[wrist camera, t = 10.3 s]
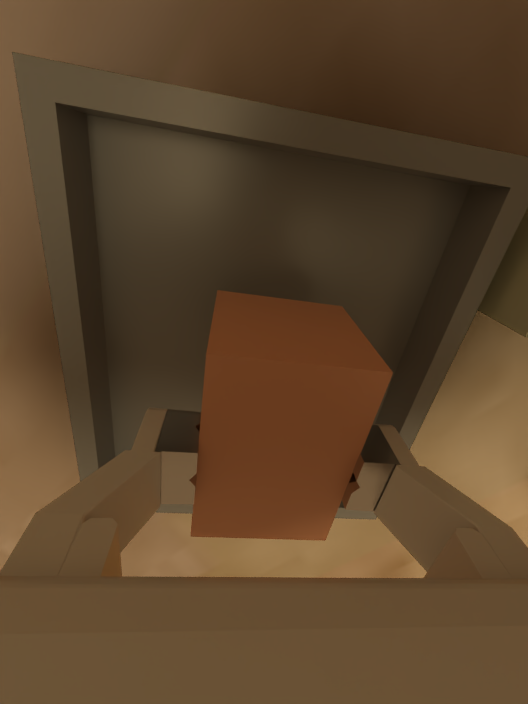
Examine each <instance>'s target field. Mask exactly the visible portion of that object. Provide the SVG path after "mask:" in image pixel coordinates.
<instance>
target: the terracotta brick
mask: <svg viewBox="0 0 528 704" xmlns="http://www.w3.org/2000/svg"><path fill="white" fill-rule="evenodd" d="M392 374H393V372H392V371H391V369H390V368H389V367H388V365H387V364H386V363H385V361H384V360H383V359H382V358H381V356H380V355H379V354H378V352H377V351H376V350H375V348H374V347H373V346H372V345H371V343H370V342H369V341H368V339H367V338H366V337H365V335H364V334H363V333H362V331H361V330H360V329H359V328H358V326H357V325H356V324H355V322H354V321H353V320H352V318H351V317H350V316H349V315H348V313H347V312H346V311H345V309H344V308H343V307H342V306H337V305H329V304H321V303H313V302H306V301H298V300H290V299H283V298H275V297H267V296H260V295H252V294H244V293H236V292H229V291H221V290H217V295H216V301H215V307H214V312H213V318H212V324H211V329H210V335H209V341H208V346H207V352H206V362H205V374H204V386H203V397H202V409H201V421H200V432H199V455H198V466H197V473H196V475H197V481H196V492H195V500H194V505H193V514H192V525H191V536H192V537H226V538H260V539H295V540H326V538H327V535H328V533H329V530H330V528H331V525H332V523H333V521H334V518H335V516H336V513H337V511H338V508H339V506H340V503H341V501H342V498H343V495H344V492H345V490H346V487H347V485H348V483H349V481H350V478H351V476H352V473H353V469H354V467H355V464H356V462H357V459H358V457H359V454H360V453H361V451H362V449H363V446H364V444H365V441H366V439H367V436H368V434H369V431H370V429H371V426H372V424H373V421H374V419H375V417H376V414H377V412H378V409H379V407H380V404H381V402H382V399H383V397H384V394H385V392H386V389H387V387H388V384H389V382H390V379H391V377H392Z"/></svg>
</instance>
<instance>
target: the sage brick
mask: <svg viewBox="0 0 528 704" xmlns="http://www.w3.org/2000/svg"><path fill="white" fill-rule="evenodd" d="M478 310H479V311H481V312H482V313H484V314H486V315H488V316H489V317H491V318H493V319H495V320H496V321H498V322H500V323H502V324H503V325H505V326H507V327H509V328H510V329H512V330H514V331H516V332H517V333H519V334H521V335H523V336H524V337H528V207H527V209H526V211H525V213H524V216H523V218H522V220H521V222H520V224H519V226H518V228H517V230H516V232H515V234H514V236H513V238H512V240H511V242H510V244H509V246H508V248H507V250H506V253H505V255H504V257H503V259H502V261H501V263H500V265H499V267H498V269H497V271H496V273H495V275H494V277H493V279H492V281H491V283H490V285H489V287H488V290H487V292H486V294H485V296H484V298H483V300H482V302H481V304H480V306H479V308H478Z"/></svg>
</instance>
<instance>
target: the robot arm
mask: <svg viewBox="0 0 528 704" xmlns="http://www.w3.org/2000/svg"><path fill="white" fill-rule="evenodd" d="M200 421H201V412H195V411H184V410H173V409H168V410H167V409H160V408H148V410H147V411H146V413H145V416H144V418H143V421H142V423H141V426H140V429H139V431H138V434H137V436H136V439H135V442H134V444H133V447H132V449H131V450H125V451H123V452H122V453H120V454H119V455H118V456H116V457H115V458H113V459H112V460H110V461H109V462H108V463H106V464H105V465H103V466H102V467H101V468H99V469H98V470H96V471H95V472H93V473H92V474H91V475H89V476H88V477H86V478H85V479H84V480H82V481H81V482H79V483H78V484H77V485H75V486H74V487H72V488H71V489H69V490H68V491H67V492H65V493H64V494H62V495H61V496H60V497H58V498H57V499H55V500H54V501H52V502H51V503H50V504H48V505H47V506H45V507H44V508H43V509H41V510H40V511H38V512H37V513H35V515H34V517H33V518H32V520H31V522H30V523H29V525H28V527H27V528H26V530H25V532H24V533H23V535H22V537H21V538H20V540H19V542H18V543H17V545H16V547H15V548H14V550H13V552H12V553H11V555H10V557H9V558H8V560H7V562H6V563H5V565H4V567H3V568H2V570H1V572H0V704H528V548H527V547H526V545H525V544H524V543H523V541H522V540H521V539H520V538H519V536H518V535H517V534H516V532H515V531H514V530H513V529H512V528H511V527H510V526H508V525H507V524H506V523H504V522H503V521H501V520H500V519H498V518H497V517H496V516H494V515H493V514H491V513H490V512H488V511H487V510H486V509H484V508H483V507H481V506H480V505H479V504H477V503H476V502H474V501H473V500H471V499H470V498H469V497H467V496H466V495H464V494H463V493H461V492H460V491H459V490H457V489H456V488H454V487H453V486H451V485H450V484H449V483H447V482H446V481H444V480H443V479H442V478H440V477H439V476H437V475H436V474H434V473H433V472H432V471H430V470H429V469H427V468H426V467H422V466H419V465H418V463H417V461H416V460H415V458H414V457H413V455H412V453H411V452H410V450H409V449H408V447H407V446H406V444H405V442H404V441H403V439H402V438H401V436H400V434H399V433H398V431H397V430H396V428H395V427H394V426H392V425H380V424H375V425H372V426H371V429H370V431H369V434H368V436H367V439H366V441H365V444H364V446H363V449H362V451H361V453H360V454H359V457H358V459H357V462H356V464H355V467H354V469H353V473H352V476H351V478H350V481H349V483H348V485H347V487H346V490H345V492H344V495H343V498H342V502H343V505H344V508H345V510H356V511H371V512H374V514H375V515H376V516H377V517H378V518H379V519H380V520H381V522H382V523H383V524H384V525H385V526H386V527H387V528H388V529H389V530H390V531H391V533H392V534H393V535H394V536H395V537H396V538H397V539H398V540H399V541H400V543H401V544H402V545H403V546H404V547H405V548H406V549H407V550H408V551H409V552H410V554H411V555H412V556H413V557H414V558H415V559H416V560H417V561H418V562H419V563H420V565H421V566H422V567H423V568H424V569H425V570H426V571H427V573H426V575H425V576H424V578H276V577H122V569H121V557H120V552H121V551H122V550H123V549H124V548H125V547H126V545H127V544H128V543H129V542H130V541H131V540H132V539H133V537H134V536H135V535H136V534H137V533H138V532H139V530H140V529H141V528H142V527H143V526H144V525H145V524H146V522H147V521H148V520H149V519H150V518H151V517H152V515H153V514H154V513H155V512H156V511H157V510H158V509H159V507H160V504H187V505H194V500H195V492H196V481H197V475H196V473H197V466H198V455H199V432H200Z"/></svg>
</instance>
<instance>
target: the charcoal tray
mask: <svg viewBox="0 0 528 704" xmlns="http://www.w3.org/2000/svg"><path fill="white" fill-rule="evenodd" d="M12 54H13V61H14V67H15V73H16V79H17V86H18V92H19V98H20V105H21V111H22V117H23V123H24V130H25V136H26V142H27V149H28V155H29V161H30V168H31V174H32V180H33V186H34V193H35V199H36V205H37V212H38V218H39V224H40V230H41V237H42V243H43V249H44V256H45V262H46V268H47V274H48V281H49V287H50V293H51V300H52V306H53V312H54V319H55V325H56V331H57V337H58V344H59V350H60V356H61V363H62V369H63V375H64V381H65V388H66V394H67V400H68V407H69V413H70V419H71V426H72V432H73V438H74V444H75V451H76V457H77V463H78V470H79V476H80V482H81V481H82V480H84V479H85V478H86V477H88V476H89V475H91V474H92V473H93V472H95V471H96V470H98V469H99V468H101V467H102V466H103V465H105V464H106V463H108V462H109V461H110V460H112V459H113V458H115V457H116V456H118V455H119V454H120V453H122V452H123V451H125V450H131V449H132V447H133V444H134V442H135V439H136V436H137V434H138V431H139V429H140V426H141V423H142V421H143V418H144V416H145V413H146V411H147V410H148V408H160V409H167V410H168V409H173V410H184V411H195V412H201V409H202V397H203V386H204V374H205V362H206V352H207V346H208V341H209V335H210V329H211V324H212V318H213V312H214V307H215V301H216V295H217V290H221V291H229V292H236V293H244V294H252V295H260V296H267V297H275V298H283V299H290V300H298V301H306V302H313V303H321V304H329V305H337V306H342V307H343V308H344V309H345V311H346V312H347V313H348V315H349V316H350V317H351V318H352V320H353V321H354V322H355V324H356V325H357V326H358V328H359V329H360V330H361V331H362V333H363V334H364V335H365V337H366V338H367V339H368V341H369V342H370V343H371V345H372V346H373V347H374V348H375V350H376V351H377V352H378V354H379V355H380V356H381V358H382V359H383V360H384V361H385V363H386V364H387V365H388V367H389V368H390V369H391V371H392V372H393V374H392V377H391V379H390V382H389V384H388V387H387V389H386V392H385V394H384V397H383V399H382V402H381V404H380V407H379V409H378V412H377V414H376V417H375V419H374V421H373V424H372V425H375V424H380V425H392V426H394V427H395V428H396V430H397V431H398V433H399V434H400V436H401V438H402V439H403V441H404V442H405V444H406V446H407V447H408V449H409V450H410V448H411V446H412V444H413V442H414V440H415V437H416V435H417V433H418V431H419V429H420V427H421V425H422V423H423V421H424V419H425V417H426V415H427V413H428V411H429V409H430V407H431V405H432V403H433V400H434V398H435V396H436V394H437V392H438V390H439V388H440V386H441V384H442V382H443V380H444V378H445V376H446V374H447V372H448V370H449V368H450V366H451V364H452V361H453V359H454V357H455V355H456V353H457V351H458V349H459V347H460V345H461V343H462V341H463V339H464V337H465V335H466V333H467V331H468V329H469V327H470V324H471V322H472V320H473V318H474V316H475V314H476V312H477V310H478V308H479V306H480V304H481V302H482V300H483V298H484V296H485V294H486V292H487V290H488V287H489V285H490V283H491V281H492V279H493V277H494V275H495V273H496V271H497V269H498V267H499V265H500V263H501V261H502V259H503V257H504V255H505V253H506V250H507V248H508V246H509V244H510V242H511V240H512V238H513V236H514V234H515V232H516V230H517V228H518V226H519V224H520V222H521V220H522V218H523V216H524V213H525V211H526V209H527V207H528V157H527V156H522V155H517V154H512V153H508V152H503V151H498V150H493V149H488V148H483V147H478V146H473V145H468V144H463V143H458V142H453V141H448V140H443V139H439V138H434V137H429V136H424V135H419V134H414V133H409V132H404V131H399V130H394V129H389V128H384V127H379V126H375V125H370V124H365V123H360V122H355V121H350V120H345V119H340V118H335V117H330V116H325V115H320V114H315V113H311V112H306V111H301V110H296V109H291V108H286V107H281V106H276V105H271V104H266V103H261V102H256V101H251V100H246V99H242V98H237V97H232V96H227V95H222V94H217V93H212V92H207V91H202V90H197V89H192V88H187V87H182V86H178V85H173V84H168V83H163V82H158V81H153V80H148V79H143V78H138V77H133V76H128V75H123V74H118V73H114V72H109V71H104V70H99V69H94V68H89V67H84V66H79V65H74V64H69V63H64V62H59V61H54V60H49V59H45V58H40V57H35V56H30V55H25V54H20V53H15V52H12ZM156 512H161V513H192V514H193V505H187V504H160V507H159V509H158V510H157V511H156ZM335 518H346V519H376V518H377V516H376V515H375V514H374V512H371V511H356V510H345V508H344V505H343V502H342V501H341V503H340V506H339V508H338V511H337V513H336V516H335Z"/></svg>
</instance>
